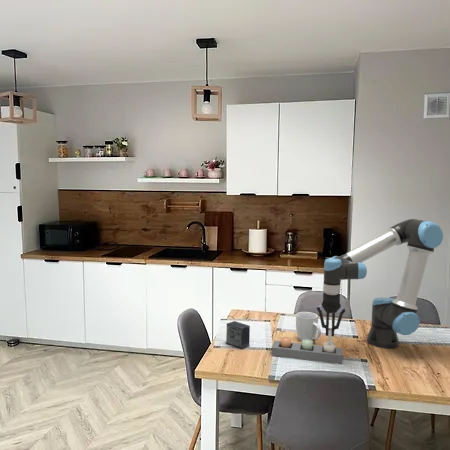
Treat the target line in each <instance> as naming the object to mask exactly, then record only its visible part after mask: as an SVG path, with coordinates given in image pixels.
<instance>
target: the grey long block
mask: <svg viewBox="0 0 450 450" xmlns="http://www.w3.org/2000/svg"><path fill="white" fill-rule="evenodd" d="M270 350H271V351H270V353H271V356H272V357H280V358H285V359H286V358H288V359H295V360H296V359H297V360H305V361H313V362H320V363H328V364H338V365H343V347H339V346H338V347H336V346H335V353H327V352H323V350H324V345H320V344H319V345H318V344H313V348H312V351H309V350H302V342H301V343H299V342H294V341H293V342H292V341H291V348H283V347H280V340H273V343H272V346H271V349H270Z"/></svg>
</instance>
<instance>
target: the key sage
mask: <svg viewBox="0 0 450 450" xmlns="http://www.w3.org/2000/svg"><path fill="white" fill-rule="evenodd" d="M301 343H302V350H309V351H312V348H313V345H314V340H313V341H312V340H309V339H303V340H302V341H301Z"/></svg>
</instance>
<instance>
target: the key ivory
mask: <svg viewBox="0 0 450 450" xmlns="http://www.w3.org/2000/svg"><path fill="white" fill-rule="evenodd" d="M323 346H324V350H323V352H327V353H335V347H336V343H335V342H333V341H331V344H328V341H324V342H323Z"/></svg>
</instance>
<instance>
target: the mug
mask: <svg viewBox="0 0 450 450" xmlns="http://www.w3.org/2000/svg"><path fill="white" fill-rule="evenodd" d="M318 315H319V314H317V313H314V312H311V311H300V312H296V314H295V330H296V334H297V337H298V339H299V340H300V341H301V342H302V340H303V339H309V340H312V341H313V342H314V340H319V339H320V337H321V335H322V331H321V327H320V325H319V316H318ZM316 335H317V336H316Z"/></svg>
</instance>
